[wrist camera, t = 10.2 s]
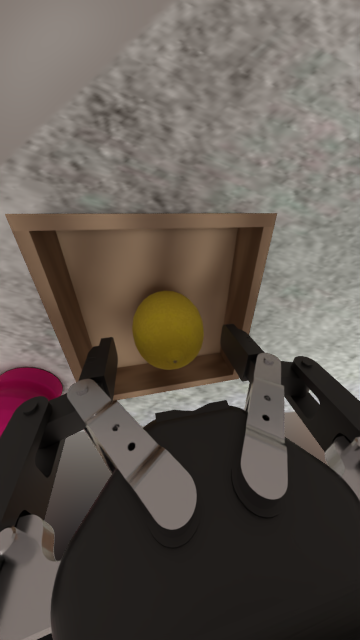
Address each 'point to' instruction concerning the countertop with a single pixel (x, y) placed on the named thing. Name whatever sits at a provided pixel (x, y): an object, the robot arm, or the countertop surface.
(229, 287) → the tray
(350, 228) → the countertop surface
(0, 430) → the pepper mill
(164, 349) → the lemon
